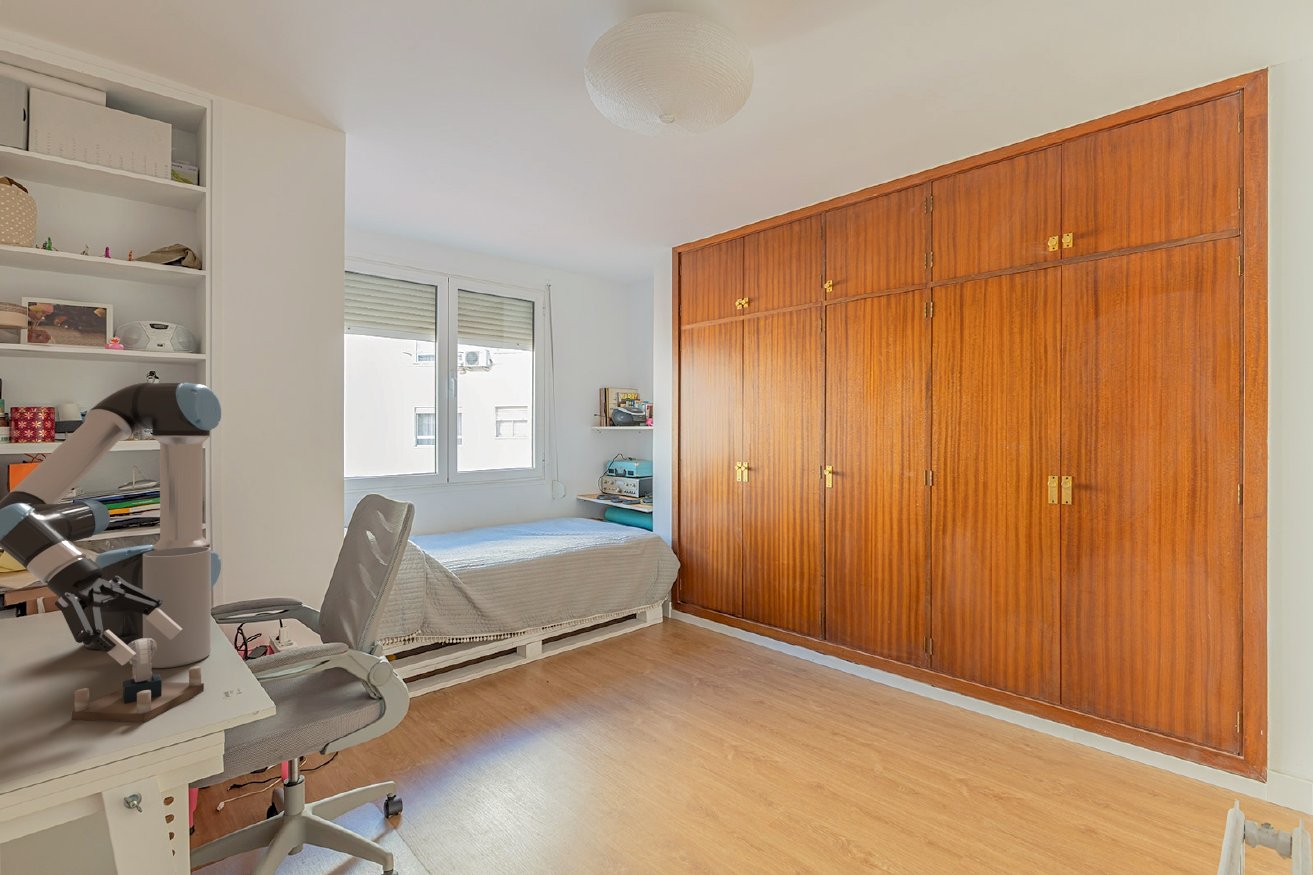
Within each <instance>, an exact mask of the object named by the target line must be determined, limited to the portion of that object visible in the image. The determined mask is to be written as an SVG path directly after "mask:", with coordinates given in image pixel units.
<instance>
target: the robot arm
mask: <svg viewBox="0 0 1313 875" xmlns="http://www.w3.org/2000/svg"><path fill="white" fill-rule="evenodd" d="M221 418H222V407H221V403H220V400H219V398H218V397H217V394H215V393H214V391H213V390H212V389H211V388H210V387H208V386H206V385H204V384H200V383H191V382H161V383H160V382H158V383H157V382H140V383H134V384H130V385H128V386H125V387H123V388H121V389H119V390H117V391H115V392H113V393H111V394H110V395H108V396H107V397H105V398H104V399H102V400H101V401H99V402H98V403H97V404H95V406H93V407H92V408H91V409H90V410H88V411H87V413H86V414H85V415H84V422H83V423H82V424H81V425H80V426H79V427H78V428H76V429H75V431H73V432H72V433H71V434H70V435H69V436H68V437H67V438H66V439H65V440H64V441H63V442H62V443H61V444H60V445H58V446H57V448H55V449H54V450H53V451H52V452H51V453H50V454H49V455H48V456H46V458H45V459H43V461H41V462H40V463H39V464H38V465H37V466H36V467H34V469H33V470H32V471H31V472H29V473H28V475H26V477H25V478H24V479H22V480H21V481H20V482H19V483H18V484H17V485H16V486H15V487H14V488H13V489H11V490H10V491H9V492H8V493H7V494H6V495H5V496H4V497H3V498H2V499H0V548H1V549H2V550H3V551H5V552H6V553H7V554H8V555H9V556H11V557H12V558H13V559H14V560H15V561H16V562H18V563H19V564H20V565H21V566H23V568H24V569H26V570H27V571H28V572H30V573H31V574H32V575H33V576H34V577H35V578H36V579H38V581H40V582H41V583H42V584H44V585H45V584H46V587H47V589H48V590H50V591H51V592H52V593H54V594H55V595H56V596H57V597H58V599H57V600H55V601H54V605H55V607H57V608H58V609H59V611H61V613H62V616H63V617H64V619H65V622H66V624H67V626H68V628H69V631H70V632H71V635H72V637H73V638H74V640H75V642H76V643H78V644H83V645H85V646H84V647H85V648H86V649H89V650H98V651H99V650H100V651H101V650H102V651H103V652H105V653H106V654H108V656H110V657H112V659H114V660H115V661H116V662H117V663H119V665H121V666H122V667H123V666H124V665H126V664H127V663H128V662H129V660H130V659H131V658H132V657H133V656H134V655H135V654H136V653H135V652H134V651H133V650H132V649H131V648H129V647H128V646H127V645H128V644H129V643H131V642H132V641H135V640H137V639H141V638H143V614H145V615H148V616H147V617H146V619H147V620H148V621H149V622H150V623H152V624H153V625H154V626H155V627H156V628H157V629H158V630H160V631H161V632H162V633H163V634H164V635H165V636H166V637H168V638H169V639H170V640H171V639H173V638H174V637H175V636H176V635H177V634H178V633H179V632H180V631H181V630H182V628H181V627H180V626H179V625H177V624H176V623H175V622H174V621H173V620H172V619H171V618H170V617H169V616H168V615H166V614H165V613H164V612H163V611H162V610H161V609H160V608H159V606H161V605H162V602H163V601H162V599H160V598H158V597H156V596H154V595H152V594H150V593H148V592H146V591H144V590H143V554H144V553H146V552H150V551H154V550H160V549H167V548H177V547H209V548H211V546H210V545H211V544H210V543H211V542H210V541H209V540H207V539H206V538H204V536H203V499H204V498H203V496H204V495H203V484H204V483H203V471H204V470H203V464H204V462H203V461H204V460H203V454H204V453H203V452H204V451H203V450H204V449H203V448H204V447H203V444H204V443H205V442H206V441H207V440H208V439H209V438H210V437H211V430H213V429H215V428H217V427H218V426H219V423H220V422H221ZM144 430H151V431H152V432H151V436H152V438H153V439H154V440H156V442H158V443H159V540H158V541H157V542H156V543H155V544H145V545H136V546H130V547H124V548H118V549H113V550H108V551H105V552H101V553H100V554H98V555H97V556H96V558H95V560H94V561H93V559H92V558H87V554H86V553H85V552H84V551H82V550H81V549H80V548H79V547H78V546H77V545H75V544H74V543H73V542H77V541H81V540H85V539H89V538H92V537H93V536H95V535H98V534H100V533H103V532H104V531H105V530H106V529H107V528H108V526H109V525H110V522H111V516H110V511H109V509H108V508H107V506H105V505H104V503H102V502H100V501H98V500H95V499H94V500H93V499H89V500H88V499H87V500H79V501H76V502H74V503H60V501H61V500H62V499H63V498H64V497H66V495H68V493H69V492H71V490H72V489H73V488H74V487H75V486H76V485H77V484H78V483H79V482H80V481H81V480H82V479H83V478H84V477H85V476H86V475H87V474H88V473H89V472H90V471H91V470H92V469H93V468H94V467H95V466H96V464H98V463H99V462H100V460H102V459H103V457H104V456H105V455H106V454H107V453H108V452H109V451H111V450H112V448H114V446H115V445H117V443H118V442H121V441H125V440H127V439H129V438H130V437H131V436H132V435H133V434H135V433H136V432H138V431H144ZM221 560H222V559H221V558H220V557H219V554H218V553H217V552H215V551H212V550H211V590H212V589H213V588H214V586H215V585H216V583H217V582H218V580H219V577H220V574H221V570H222V561H221Z"/></svg>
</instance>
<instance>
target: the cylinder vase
mask: <svg viewBox="0 0 1313 875" xmlns="http://www.w3.org/2000/svg"><path fill="white" fill-rule="evenodd" d="M211 551H212V548H211V547H210V548H209V547H177V548H167V549H160V550H154V551H150V552H146V553H144V554H143V590H144V591H146V592H148V593H150V594H152V595H154V596H156V597H158V598H160V599H162V601H163V602H162V605H161V606H159V608H160V609H161V610H162V611H163V612H164V613H165V614H166V615H168V616H169V617H170V618H171V619H172V620H173V621H174V622H175V623H176V624H177V625H179V626H180V627H181V628H182V630H181V631H180V632H179V633H178V634H177V635H176V636H175V637H174V638H173V639H171V640H170V639H169V638H168V637H166V636H165V635H164V634H163V633H162V632H161V631H160V630H158V629H157V628H156V627H155V626H154V625H153V624H152V623H150V622H149V621H148V620H147V619H146V617H147V616H148V615H145V614H143V638H152V639H153V640H154V641H156V644H157V649H156V652H155V653H154V655H153V656H152V659H151V664H152V668H151V669H169V668H177V667H183V666H187V665H191V664H194V663H196V662H199V661H202V660H204V659H206V658H207V657H208V656H209V655H210V654H211V650H212V646H211V645H212V638H211V637H212V628H211V627H212V625H211V623H212V620H211V619H212V612H211V611H212V610H211V609H212V604H211V603H212V596H211V595H212V594H211V593H212V592H211V591H212V589H211Z"/></svg>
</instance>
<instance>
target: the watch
mask: <svg viewBox="0 0 1313 875" xmlns="http://www.w3.org/2000/svg"><path fill="white" fill-rule="evenodd" d="M127 646H128V647H129V648H131V649H132V650H133V651H134V652H135V653H136V654H135V655H134V656H133V657H132V658H131V659H130V660H129V661H128V662H129V664H130V665H132V667H133V673H134V679H132V678H130V679H125V680H122V688H123V700H124V704H127V703H132V702H136V701H137V693H138V692H140V691H144V690H151V698H154V697H159V696H162V682H163V681H162V677H161V675H160V673H155V674H153V672H152V669H153V668H152V664H151V659H152V656H153V655H154V653H155V652H156V649H157V644H156V641H154V640H153V639H152V638H141V639H137V640H135V641H132V642H131V643H129V644H128V645H127Z"/></svg>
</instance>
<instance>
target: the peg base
mask: <svg viewBox="0 0 1313 875" xmlns="http://www.w3.org/2000/svg"><path fill="white" fill-rule="evenodd" d="M131 669H132V670H131V674H132V675H131V679H134V673H133V666H132V668H131ZM204 687H205V683H204V682H202V665H201V666H200V665H196V666H191V667H189V669H188V682H176V681H175V682H174V681H171V682H170V681H169V682H168V681H162V696H159V697H154V698H151V690H144V691H140V692H138V693H137V701H136V702H132V703H127V704H124V700H123V687H122V688H119V690H116V691H113V692H112V693H109V694H107V695H105V696H103V697H100V698H98V699H96V700H93V701H91V702H90V688H89V687H84V688H79V689H77V690H75V691H74V709H73V710H72V711H71V715H70V716H71V720H73V721H74V720H75V721H102V722H103V721H105V722H129V723H131V722H133V723H134V722H135V723H146V722H147V721H149V720H152V719H154V718H155V717H157V716H158V715H161V714H163V713H164V712H167V711H168V710H171V709H172V708H174V707H176V706H179V704H182V703H184V702H185V701H187V700H188V699H191V698H192V697H195V696H197V695H198V694H200V693H202V692H204V690H205V688H204Z"/></svg>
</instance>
